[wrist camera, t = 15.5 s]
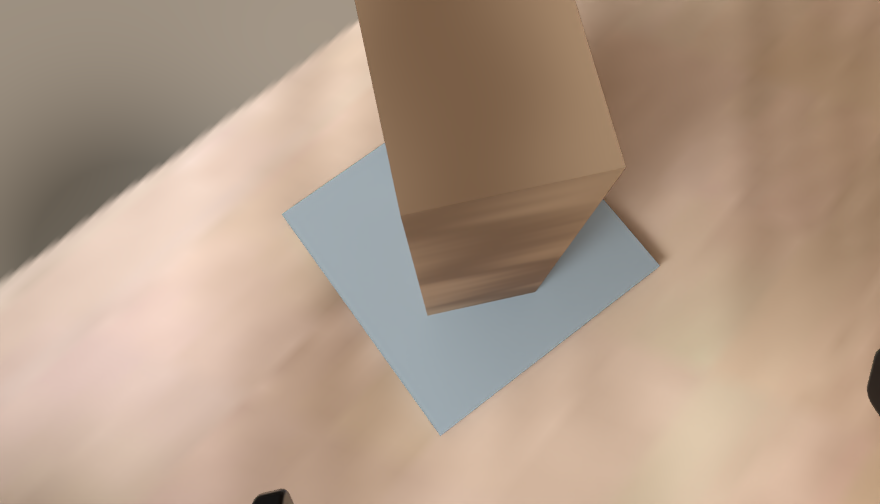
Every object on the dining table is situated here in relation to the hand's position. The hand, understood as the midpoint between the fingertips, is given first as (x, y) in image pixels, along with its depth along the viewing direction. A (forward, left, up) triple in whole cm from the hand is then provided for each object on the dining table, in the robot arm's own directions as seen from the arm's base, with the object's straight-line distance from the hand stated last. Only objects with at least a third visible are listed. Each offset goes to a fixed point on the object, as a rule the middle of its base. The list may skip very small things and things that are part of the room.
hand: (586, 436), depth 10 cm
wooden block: (+6, -3, -13) cm, 15 cm away
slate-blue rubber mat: (+6, -3, -14) cm, 15 cm away
